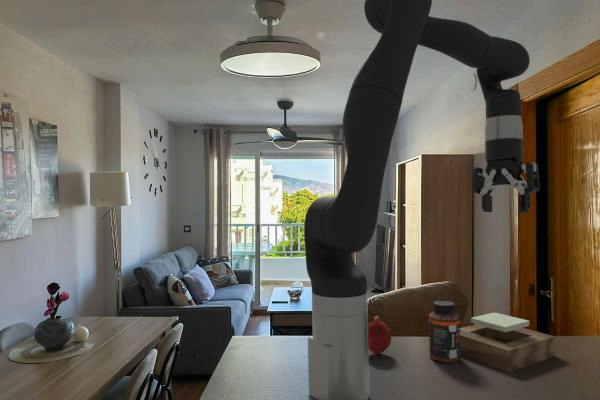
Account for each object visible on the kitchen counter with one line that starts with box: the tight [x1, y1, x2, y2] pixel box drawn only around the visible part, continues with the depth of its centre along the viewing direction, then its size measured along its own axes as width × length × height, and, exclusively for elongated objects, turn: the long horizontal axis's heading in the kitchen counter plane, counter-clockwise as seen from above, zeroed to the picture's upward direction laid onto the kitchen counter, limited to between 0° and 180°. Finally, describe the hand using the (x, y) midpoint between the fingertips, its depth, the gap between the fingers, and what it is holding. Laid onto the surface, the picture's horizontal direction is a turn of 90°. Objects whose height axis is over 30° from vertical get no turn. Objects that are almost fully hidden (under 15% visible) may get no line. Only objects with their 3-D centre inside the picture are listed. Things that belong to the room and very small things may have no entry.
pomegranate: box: [368, 315, 392, 356], centre depth 88 cm, size 6×6×8 cm
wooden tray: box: [460, 324, 556, 373], centre depth 88 cm, size 15×14×4 cm
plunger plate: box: [470, 312, 530, 332], centre depth 88 cm, size 8×8×1 cm
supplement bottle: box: [428, 300, 462, 364], centre depth 85 cm, size 6×6×11 cm
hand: (505, 212), depth 92 cm, fingers open, 8 cm apart
